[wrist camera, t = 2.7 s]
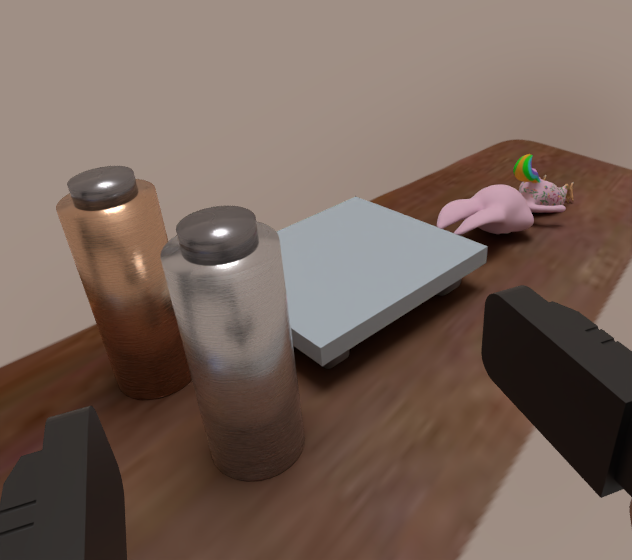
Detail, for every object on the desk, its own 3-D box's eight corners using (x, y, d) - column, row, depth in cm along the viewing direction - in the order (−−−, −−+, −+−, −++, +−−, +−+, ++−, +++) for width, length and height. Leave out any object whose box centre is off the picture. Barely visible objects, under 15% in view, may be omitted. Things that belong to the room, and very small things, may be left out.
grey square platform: (324, 394, 30) (320, 348, 28) (208, 306, 38) (199, 265, 36) (483, 288, 37) (487, 246, 36) (357, 233, 45) (355, 196, 44)
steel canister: (280, 492, 25) (241, 260, 19) (193, 466, 27) (129, 244, 20) (318, 419, 29) (295, 202, 22) (238, 400, 30) (196, 193, 24)
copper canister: (169, 407, 30) (107, 202, 24) (101, 389, 32) (26, 193, 25) (212, 354, 34) (169, 162, 27) (149, 340, 35) (94, 157, 29)
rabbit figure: (518, 204, 51) (409, 239, 42) (533, 138, 48) (419, 160, 39) (586, 225, 47) (480, 269, 38) (606, 153, 44) (497, 181, 35)
